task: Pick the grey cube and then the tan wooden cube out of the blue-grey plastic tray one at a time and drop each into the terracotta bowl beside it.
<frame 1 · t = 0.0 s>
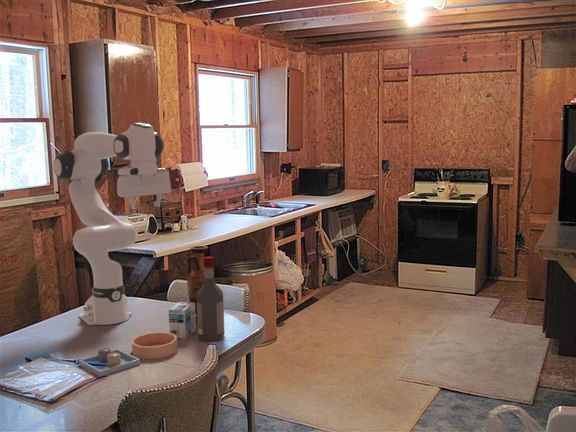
hand: (145, 207, 215), 48 cm above the table, tool pointing down, fingers open, 8 cm apart
vase: (201, 321, 240), on the table
bowl: (155, 352, 206), on the table
grey cube: (105, 362, 196), point 1 cm above the table, touching parts tray
light bulb box: (183, 334, 225), on the table
parts tray: (109, 366, 194), on the table
tan wooden cube: (114, 366, 192), point 1 cm above the table, touching parts tray
liquor: (211, 338, 219), on the table
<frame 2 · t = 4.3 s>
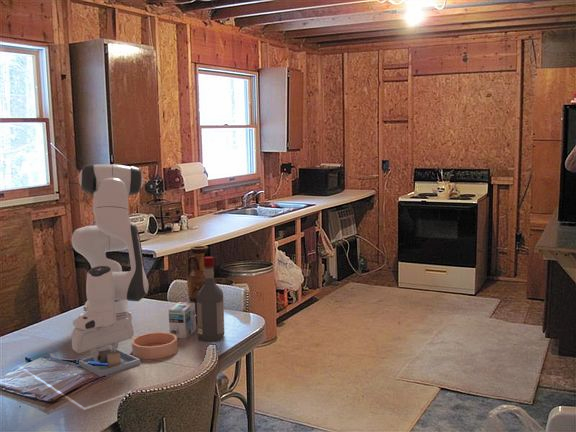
hand: (104, 358, 196), 2 cm above the table, tool pointing down, fingers closed on grey cube, 4 cm apart
grey cube: (105, 362, 196), point 1 cm above the table, touching gripper, parts tray
everything else where it was.
when the fingers open (5 cm above the table, at t = 9.0 s): grey cube drops 3 cm, resting on bowl.
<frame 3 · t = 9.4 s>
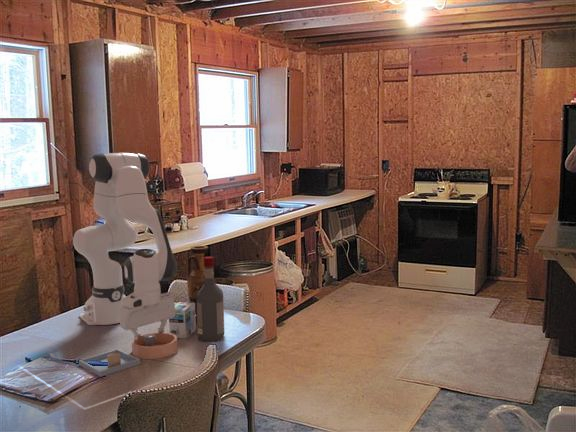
hand: (149, 335, 207), 5 cm above the table, tool pointing down, fingers open, 8 cm apart
grey cube: (150, 347, 208), point 1 cm above the table, touching bowl
everything else where it was.
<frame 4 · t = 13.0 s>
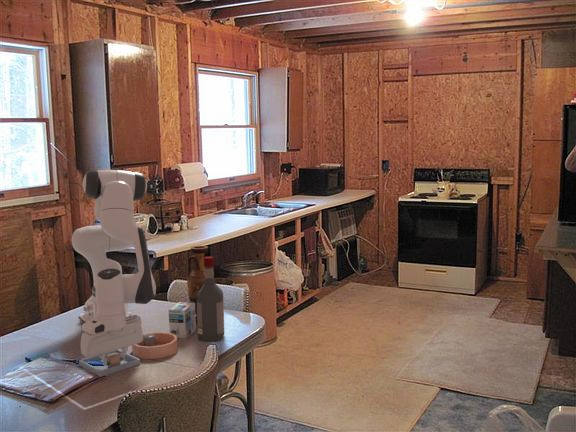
hand: (114, 362, 192), 2 cm above the table, tool pointing down, fingers closed on tan wooden cube, 4 cm apart
tan wooden cube: (114, 366, 192), point 1 cm above the table, touching gripper, parts tray
everything else where it was.
when the fingers open (5 cm above the table, at t = 18.1 s): tan wooden cube drops 3 cm, resting on bowl.
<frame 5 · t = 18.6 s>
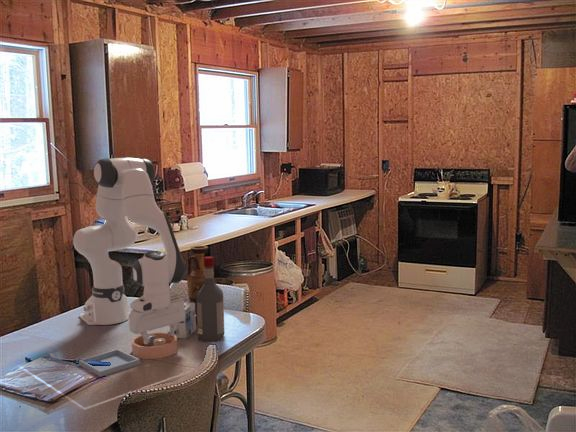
hand: (159, 339, 203), 5 cm above the table, tool pointing down, fingers open, 8 cm apart
tan wooden cube: (159, 351, 204), point 1 cm above the table, touching bowl
everything else where it was.
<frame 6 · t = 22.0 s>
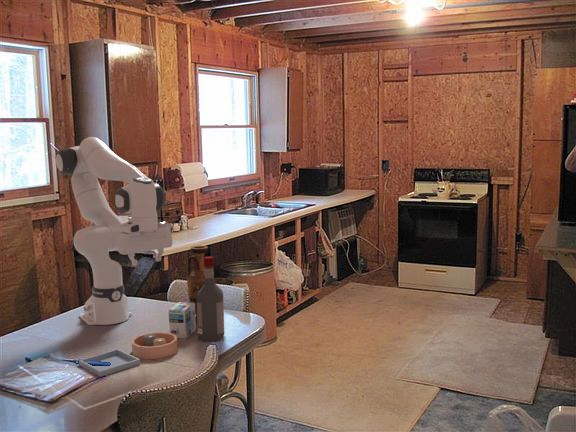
hand: (146, 263, 211), 29 cm above the table, tool pointing down, fingers open, 8 cm apart
nothing on the table moved.
at the end: grey cube inside the target area on the bowl (3.0 cm from its centre), point 1.0 cm above the bowl's base; tan wooden cube inside the target area on the bowl (3.0 cm from its centre), point 1.0 cm above the bowl's base; the gripper is holding nothing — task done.
